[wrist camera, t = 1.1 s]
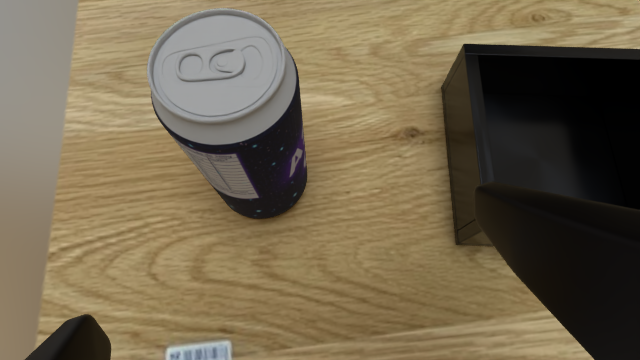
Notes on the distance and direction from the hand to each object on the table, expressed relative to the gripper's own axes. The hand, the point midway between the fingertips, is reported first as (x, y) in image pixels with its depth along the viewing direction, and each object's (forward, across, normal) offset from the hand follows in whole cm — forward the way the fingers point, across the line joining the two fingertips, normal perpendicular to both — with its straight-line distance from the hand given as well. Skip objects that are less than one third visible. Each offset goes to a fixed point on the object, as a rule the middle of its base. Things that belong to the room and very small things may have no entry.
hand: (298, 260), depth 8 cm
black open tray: (+12, -17, +8) cm, 22 cm away
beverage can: (+16, +1, +5) cm, 16 cm away
